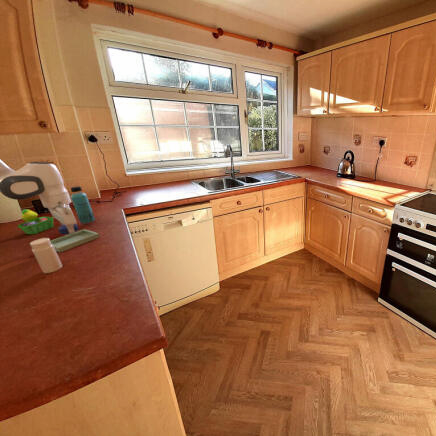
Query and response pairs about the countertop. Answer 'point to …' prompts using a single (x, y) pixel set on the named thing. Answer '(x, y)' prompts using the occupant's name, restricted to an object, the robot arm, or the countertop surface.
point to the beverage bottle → (82, 206)
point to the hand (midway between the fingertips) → (69, 230)
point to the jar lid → (64, 230)
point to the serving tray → (73, 240)
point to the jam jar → (46, 255)
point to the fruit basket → (34, 222)
